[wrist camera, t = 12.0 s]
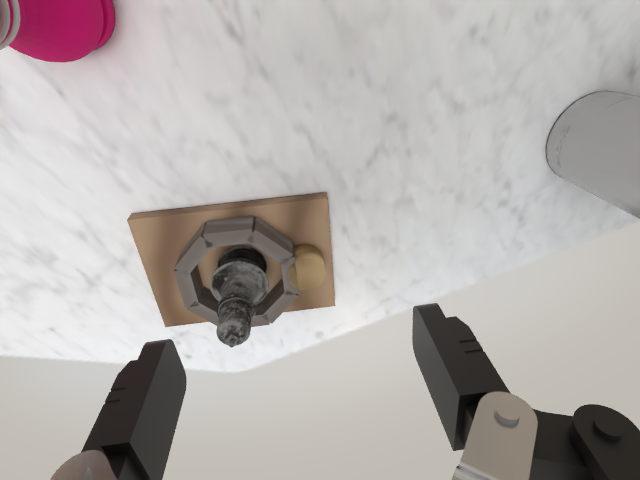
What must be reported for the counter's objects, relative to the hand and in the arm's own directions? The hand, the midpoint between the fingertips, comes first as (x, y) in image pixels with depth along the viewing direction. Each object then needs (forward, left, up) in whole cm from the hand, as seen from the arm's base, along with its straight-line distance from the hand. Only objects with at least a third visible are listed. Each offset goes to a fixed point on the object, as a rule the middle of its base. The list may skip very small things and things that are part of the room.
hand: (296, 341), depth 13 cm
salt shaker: (+6, +13, -27) cm, 30 cm away
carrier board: (+6, +13, -28) cm, 32 cm away
